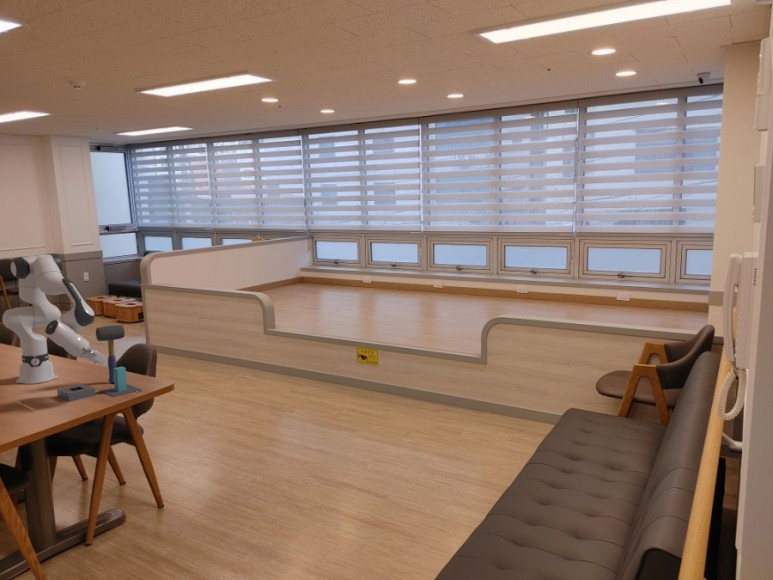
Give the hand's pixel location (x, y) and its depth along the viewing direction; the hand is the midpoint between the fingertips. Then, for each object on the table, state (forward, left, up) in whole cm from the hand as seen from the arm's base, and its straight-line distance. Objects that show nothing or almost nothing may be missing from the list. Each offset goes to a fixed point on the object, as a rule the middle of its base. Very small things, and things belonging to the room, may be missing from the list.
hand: (101, 363), depth 272 cm
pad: (-3, +8, -16) cm, 18 cm away
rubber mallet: (-21, +6, -16) cm, 27 cm away
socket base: (-4, -11, -16) cm, 20 cm away
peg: (-3, +8, -15) cm, 17 cm away
